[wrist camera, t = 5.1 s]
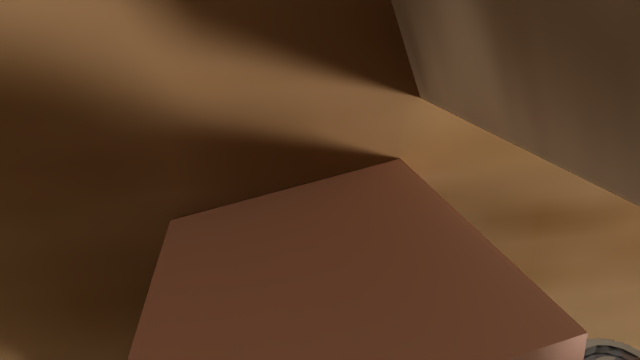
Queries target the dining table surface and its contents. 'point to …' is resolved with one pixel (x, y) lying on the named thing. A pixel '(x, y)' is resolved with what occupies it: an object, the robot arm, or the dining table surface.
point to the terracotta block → (345, 281)
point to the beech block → (537, 77)
